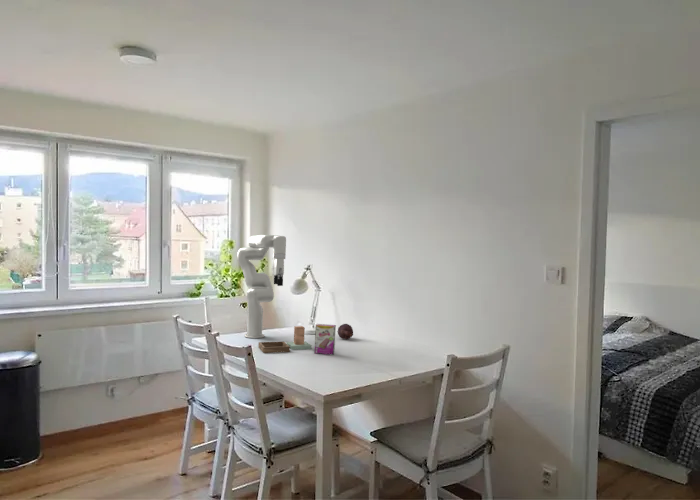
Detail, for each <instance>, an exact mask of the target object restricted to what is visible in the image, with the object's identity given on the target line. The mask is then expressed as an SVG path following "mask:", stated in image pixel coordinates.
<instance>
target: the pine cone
mask: <svg viewBox="0 0 700 500" xmlns="http://www.w3.org/2000/svg"><path fill="white" fill-rule="evenodd" d="M336 332H337V335H338V338H340V339H342V340H345V339H346V340H349V339H351V338H352V337H353V336H354V329H353V327H352V325H350V324H348V323H343V324H341V325H339V327H338V328H337V331H336Z"/></svg>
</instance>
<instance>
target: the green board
mask: <svg viewBox="0 0 700 500" xmlns="http://www.w3.org/2000/svg"><path fill="white" fill-rule="evenodd" d="M286 344H287V345H288V346H290V351H293V350H294V351H295V350H311V349H312V346H313V345H312V344H310V343H309V342H307V341H305V340H304V344H303V345H296V344H294V341H286Z"/></svg>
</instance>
